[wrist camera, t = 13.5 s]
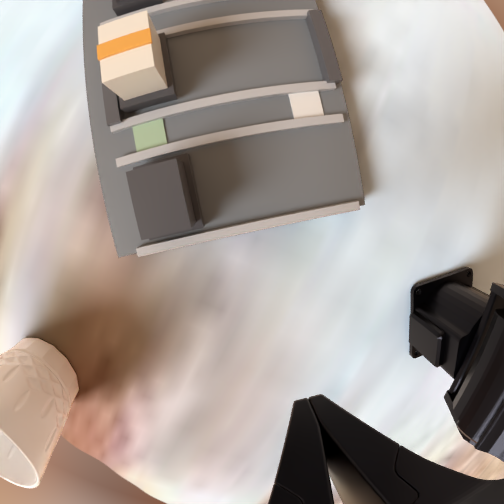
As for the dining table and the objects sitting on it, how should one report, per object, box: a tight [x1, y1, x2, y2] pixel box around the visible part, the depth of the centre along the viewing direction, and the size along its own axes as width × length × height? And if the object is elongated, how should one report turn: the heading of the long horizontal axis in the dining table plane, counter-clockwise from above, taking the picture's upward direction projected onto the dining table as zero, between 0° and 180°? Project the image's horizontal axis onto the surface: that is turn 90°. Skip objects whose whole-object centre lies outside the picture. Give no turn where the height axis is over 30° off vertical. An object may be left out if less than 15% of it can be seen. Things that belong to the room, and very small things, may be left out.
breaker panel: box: [83, 0, 365, 258], centre depth 14 cm, size 15×20×5 cm
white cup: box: [0, 338, 79, 488], centre depth 15 cm, size 8×8×10 cm
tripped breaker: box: [97, 10, 178, 113], centre depth 12 cm, size 3×4×5 cm
